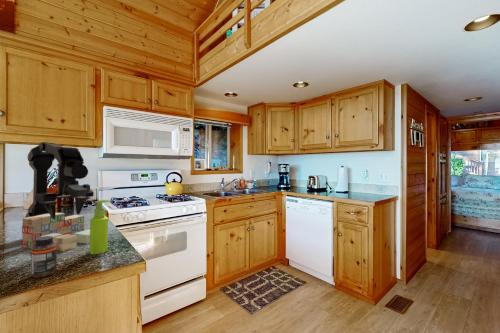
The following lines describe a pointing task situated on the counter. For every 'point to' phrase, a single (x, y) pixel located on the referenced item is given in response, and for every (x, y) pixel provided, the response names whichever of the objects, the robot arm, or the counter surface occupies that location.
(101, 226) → the soap dispenser
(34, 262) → the supplement bottle
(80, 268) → the counter surface
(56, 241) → the maple cube
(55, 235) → the grey cube
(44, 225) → the stack of blocks
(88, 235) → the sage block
